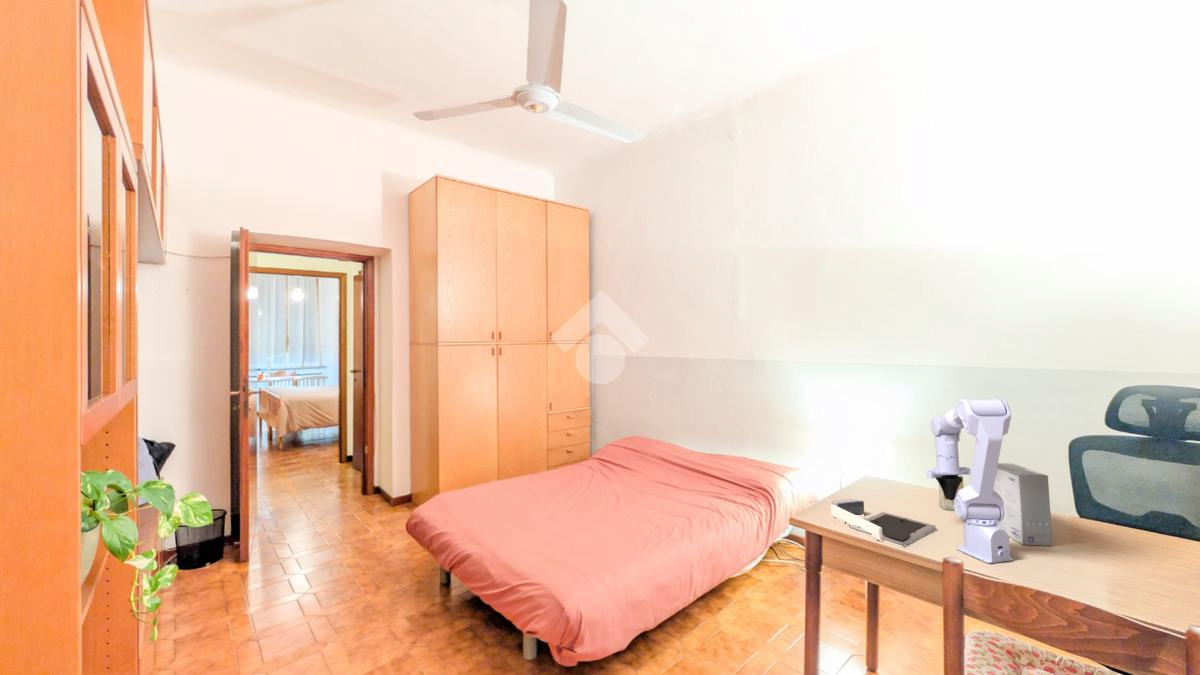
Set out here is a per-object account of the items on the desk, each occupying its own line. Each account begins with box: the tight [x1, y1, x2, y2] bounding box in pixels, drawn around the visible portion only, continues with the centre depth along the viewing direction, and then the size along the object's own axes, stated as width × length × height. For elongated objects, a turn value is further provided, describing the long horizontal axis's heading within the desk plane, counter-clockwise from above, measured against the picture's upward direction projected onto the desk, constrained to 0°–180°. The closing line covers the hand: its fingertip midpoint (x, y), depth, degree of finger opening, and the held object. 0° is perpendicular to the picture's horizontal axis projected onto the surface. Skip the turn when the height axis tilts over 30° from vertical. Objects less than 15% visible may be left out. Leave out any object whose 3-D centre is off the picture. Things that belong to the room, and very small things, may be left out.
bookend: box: [837, 500, 865, 515], centre depth 159 cm, size 3×10×5 cm, turn 100°
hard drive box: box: [993, 462, 1053, 547], centre depth 140 cm, size 16×8×20 cm, turn 168°
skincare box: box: [938, 475, 964, 511], centre depth 164 cm, size 6×4×12 cm
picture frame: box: [848, 511, 937, 546], centre depth 148 cm, size 16×3×21 cm
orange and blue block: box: [831, 498, 860, 506], centre depth 162 cm, size 4×9×5 cm, turn 100°
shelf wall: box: [830, 504, 883, 540], centre depth 151 cm, size 22×1×4 cm, turn 10°
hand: (949, 499), depth 147 cm, fingers closed
